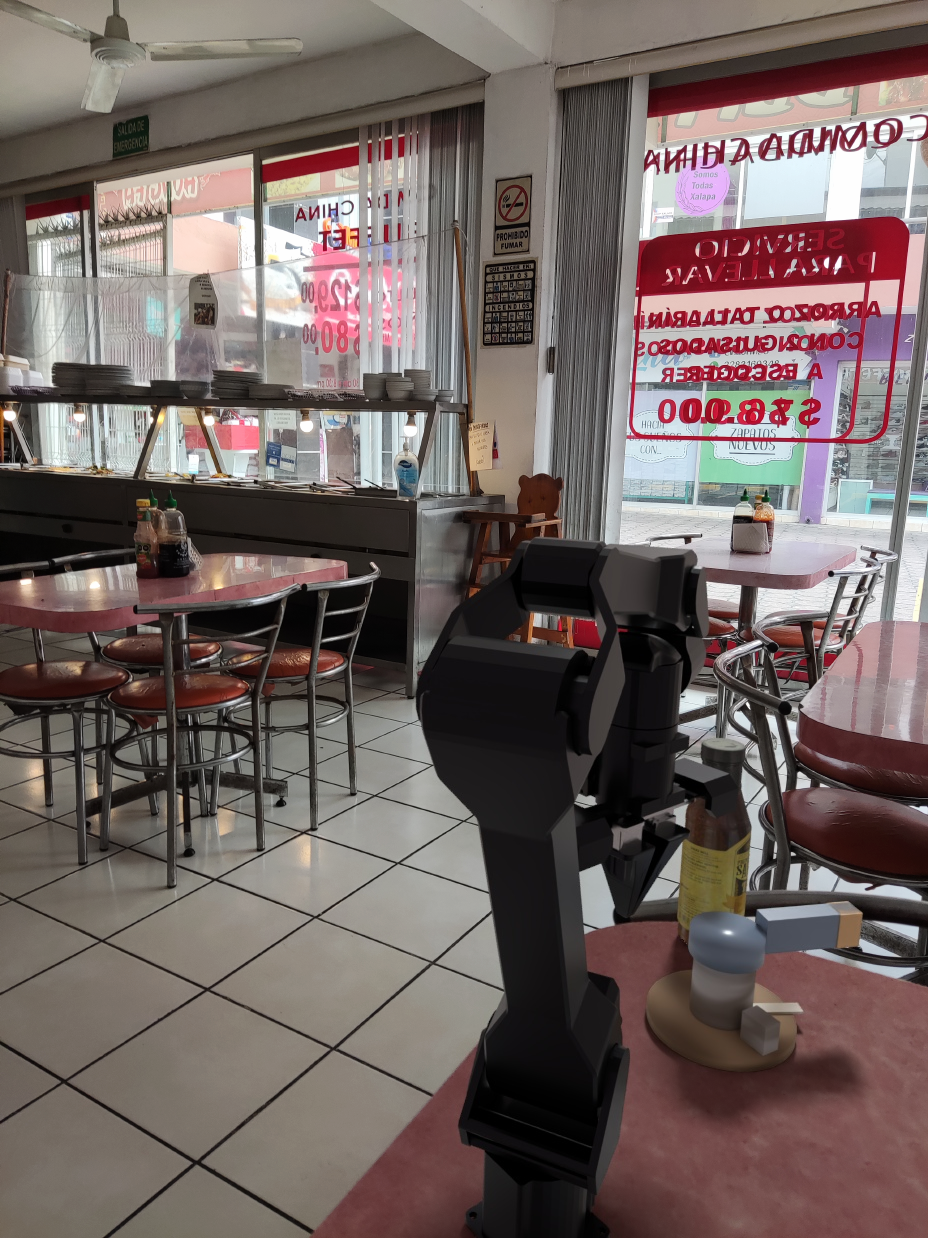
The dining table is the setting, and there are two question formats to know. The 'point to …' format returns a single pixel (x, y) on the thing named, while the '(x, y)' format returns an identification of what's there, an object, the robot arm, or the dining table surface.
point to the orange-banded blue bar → (770, 934)
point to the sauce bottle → (715, 846)
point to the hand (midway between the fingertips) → (624, 914)
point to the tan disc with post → (722, 1019)
